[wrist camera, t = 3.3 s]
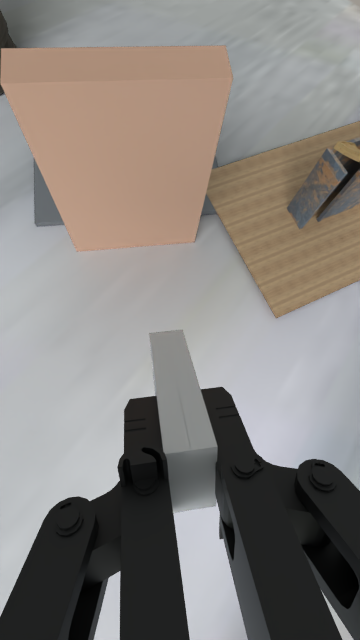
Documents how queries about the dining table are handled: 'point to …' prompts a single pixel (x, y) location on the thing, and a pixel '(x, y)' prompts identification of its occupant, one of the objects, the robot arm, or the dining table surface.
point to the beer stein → (4, 41)
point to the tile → (122, 135)
